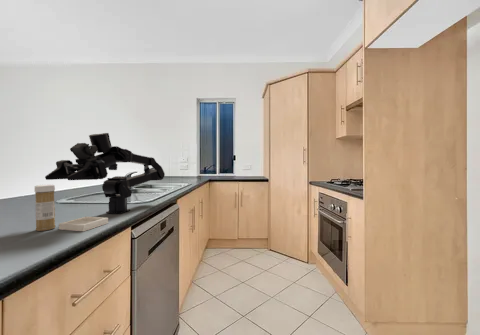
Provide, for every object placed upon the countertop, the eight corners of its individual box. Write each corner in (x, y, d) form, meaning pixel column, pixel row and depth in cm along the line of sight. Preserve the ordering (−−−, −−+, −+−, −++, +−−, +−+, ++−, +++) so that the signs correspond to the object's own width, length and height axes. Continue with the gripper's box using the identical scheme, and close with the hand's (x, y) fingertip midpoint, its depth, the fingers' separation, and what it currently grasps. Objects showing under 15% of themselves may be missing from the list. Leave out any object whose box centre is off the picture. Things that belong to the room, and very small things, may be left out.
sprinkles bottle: (55, 226, 70) (54, 184, 70) (55, 229, 66) (54, 185, 66) (35, 228, 67) (35, 184, 67) (34, 232, 63) (33, 186, 63)
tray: (85, 221, 75) (85, 216, 75) (108, 223, 73) (108, 217, 73) (59, 229, 66) (59, 223, 66) (83, 231, 64) (83, 225, 64)
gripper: (73, 142, 82) (25, 153, 67) (113, 140, 76) (70, 152, 62) (82, 170, 85) (38, 186, 71) (121, 170, 80) (83, 188, 66)
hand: (56, 178), depth 67 cm, fingers open, 9 cm apart
